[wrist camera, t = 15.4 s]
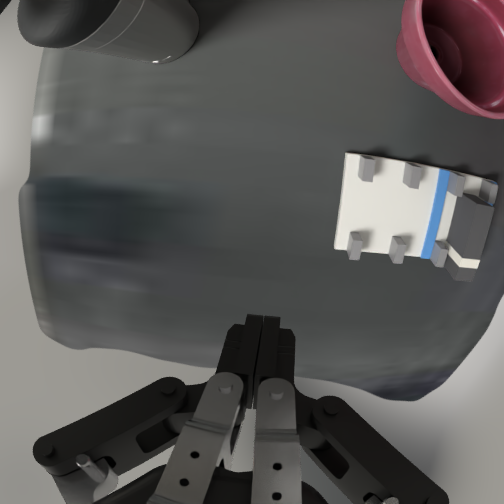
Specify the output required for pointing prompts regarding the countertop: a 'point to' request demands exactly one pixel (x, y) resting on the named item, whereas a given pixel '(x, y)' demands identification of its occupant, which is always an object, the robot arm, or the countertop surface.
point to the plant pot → (456, 52)
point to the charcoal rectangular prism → (467, 236)
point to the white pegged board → (401, 207)
